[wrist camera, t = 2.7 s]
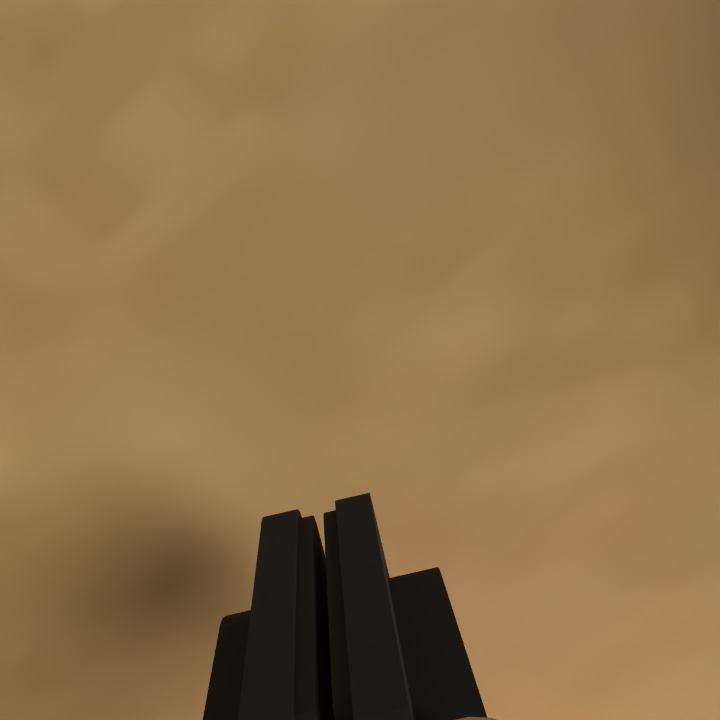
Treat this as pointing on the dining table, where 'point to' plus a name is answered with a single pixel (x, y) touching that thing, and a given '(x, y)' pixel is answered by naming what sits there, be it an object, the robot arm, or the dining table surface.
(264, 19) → the dining table surface
